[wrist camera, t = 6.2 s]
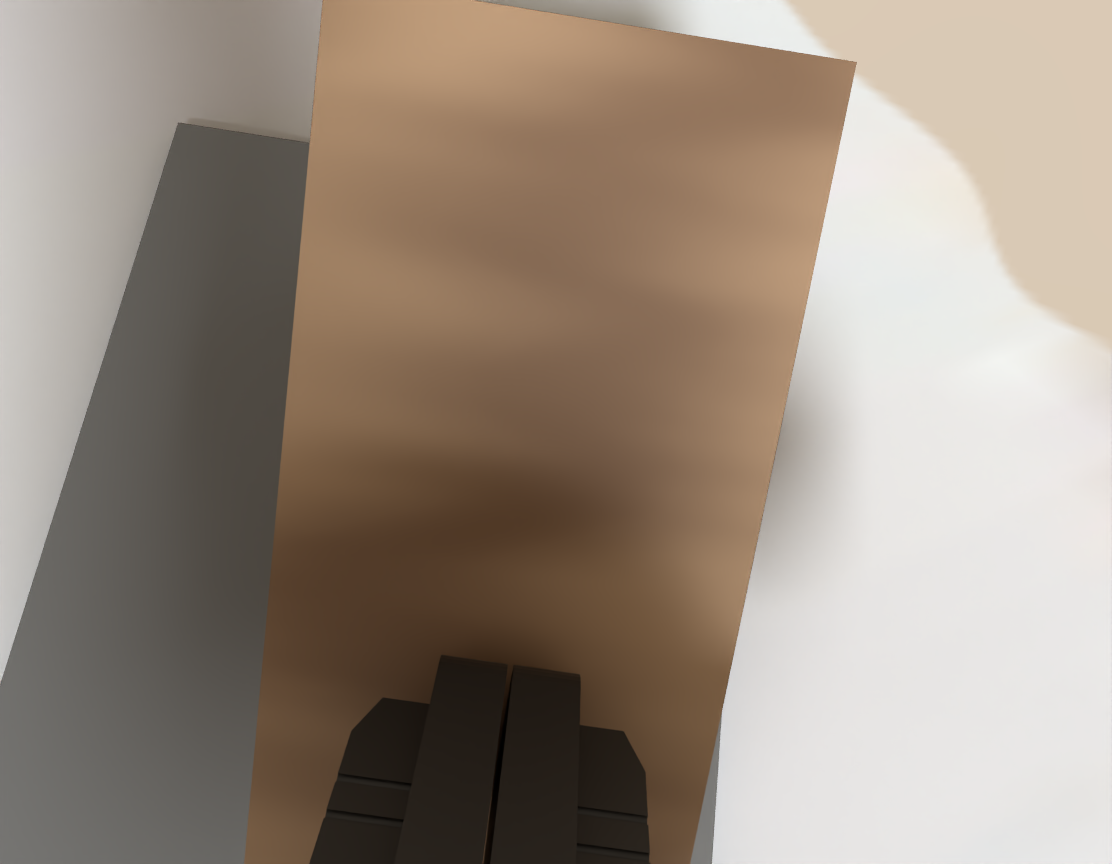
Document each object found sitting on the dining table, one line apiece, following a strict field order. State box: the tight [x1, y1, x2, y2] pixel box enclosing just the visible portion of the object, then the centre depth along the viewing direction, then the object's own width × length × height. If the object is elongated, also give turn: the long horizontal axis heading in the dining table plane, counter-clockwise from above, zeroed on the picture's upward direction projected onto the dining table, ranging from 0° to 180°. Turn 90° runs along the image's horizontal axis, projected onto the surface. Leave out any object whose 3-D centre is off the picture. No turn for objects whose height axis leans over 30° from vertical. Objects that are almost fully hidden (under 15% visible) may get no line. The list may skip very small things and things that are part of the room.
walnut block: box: [244, 0, 857, 864], centre depth 13 cm, size 5×5×11 cm
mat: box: [0, 123, 722, 864], centre depth 17 cm, size 12×18×1 cm, turn 173°
